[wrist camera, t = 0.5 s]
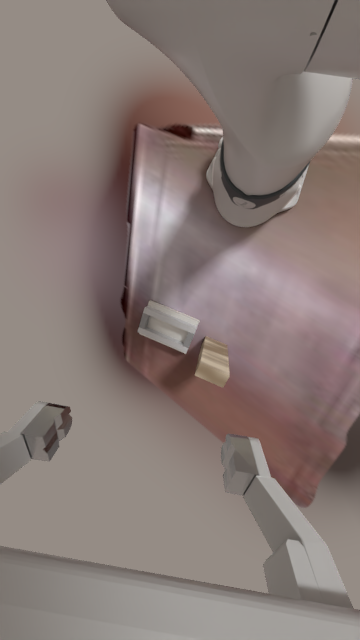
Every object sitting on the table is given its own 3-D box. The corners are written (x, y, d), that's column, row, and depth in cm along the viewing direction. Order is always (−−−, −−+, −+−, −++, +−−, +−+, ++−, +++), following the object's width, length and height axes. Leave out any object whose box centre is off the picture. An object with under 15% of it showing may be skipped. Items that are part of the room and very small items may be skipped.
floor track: (150, 299, 49) (146, 302, 46) (199, 320, 48) (198, 323, 45) (140, 332, 52) (136, 336, 49) (186, 351, 51) (184, 357, 48)
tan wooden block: (205, 336, 48) (200, 363, 35) (227, 345, 48) (229, 375, 35) (201, 345, 50) (194, 375, 36) (222, 354, 49) (223, 387, 36)
